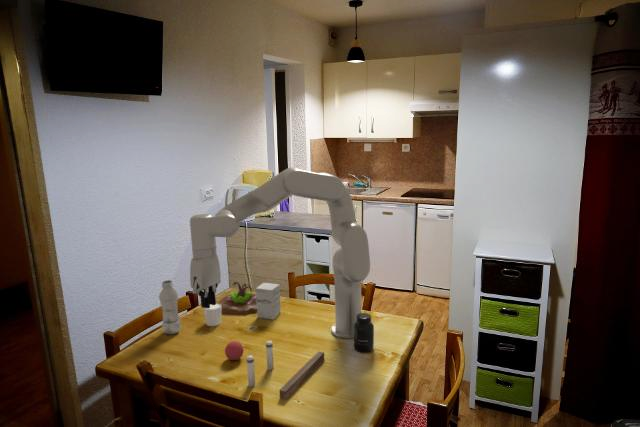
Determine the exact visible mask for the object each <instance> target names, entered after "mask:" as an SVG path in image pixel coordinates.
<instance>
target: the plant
mask: <svg viewBox="0 0 640 427" xmlns="http://www.w3.org/2000/svg"><path fill="white" fill-rule="evenodd" d="M231 285H232V287H235V286H236V285H238V290H235V292H232V291H231V292H230V294H229V295H226V296H223V297H222V298H221V299H220V300H219V301H217V303H218V304H221V306H222V310H221V314H228V315H237V316H242V315H249V314H252V313H253V314H257V299H256V293H253V291H254V288H253V287H251V286H250V285H248V286H247V283H242V286H241V284H240V283H239V282H238V281H234V282H232V283H231ZM248 288H249V290H250V292H248V290H247V289H248Z"/></svg>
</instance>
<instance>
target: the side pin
mask: <svg viewBox="0 0 640 427" xmlns="http://www.w3.org/2000/svg"><path fill="white" fill-rule="evenodd" d="M246 368H247V369H246V370H247V381H248V382H247V383H248V387H249V388H253V387H255V386H256V376H255V358H254V355H251V354H250V355H249V354H248V355H247V356H246Z"/></svg>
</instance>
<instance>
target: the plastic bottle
mask: <svg viewBox="0 0 640 427" xmlns="http://www.w3.org/2000/svg"><path fill="white" fill-rule="evenodd" d="M161 288H162V289H161V291H160V293H159V297H158V298H159V302H160V305H161V306H160V307H161V311H162V324H161V325H162V326H161V328H162V332H163V333H164V334H165V335H174V334H177V333H179V332H180V331H181V328H182V324H181V320H180V316H179V312H178V298H179V296H178V292H177V291H176V289H175V288H174V282H173V280H171V279H170V280H169V279H167V280H164V281H162V282H161Z"/></svg>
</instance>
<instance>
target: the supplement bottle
mask: <svg viewBox="0 0 640 427" xmlns="http://www.w3.org/2000/svg"><path fill="white" fill-rule="evenodd" d="M374 332H375V326H374V323H372V316H371V314H370V313H366V312H361V313H360V314H358V315H357V322H355V324H354V338H353V349H354V350H355V351H356V352H357V353H360V354H368V353H370V352H372V351H373V350H374V347H375V346H374V341H375V334H374Z"/></svg>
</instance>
